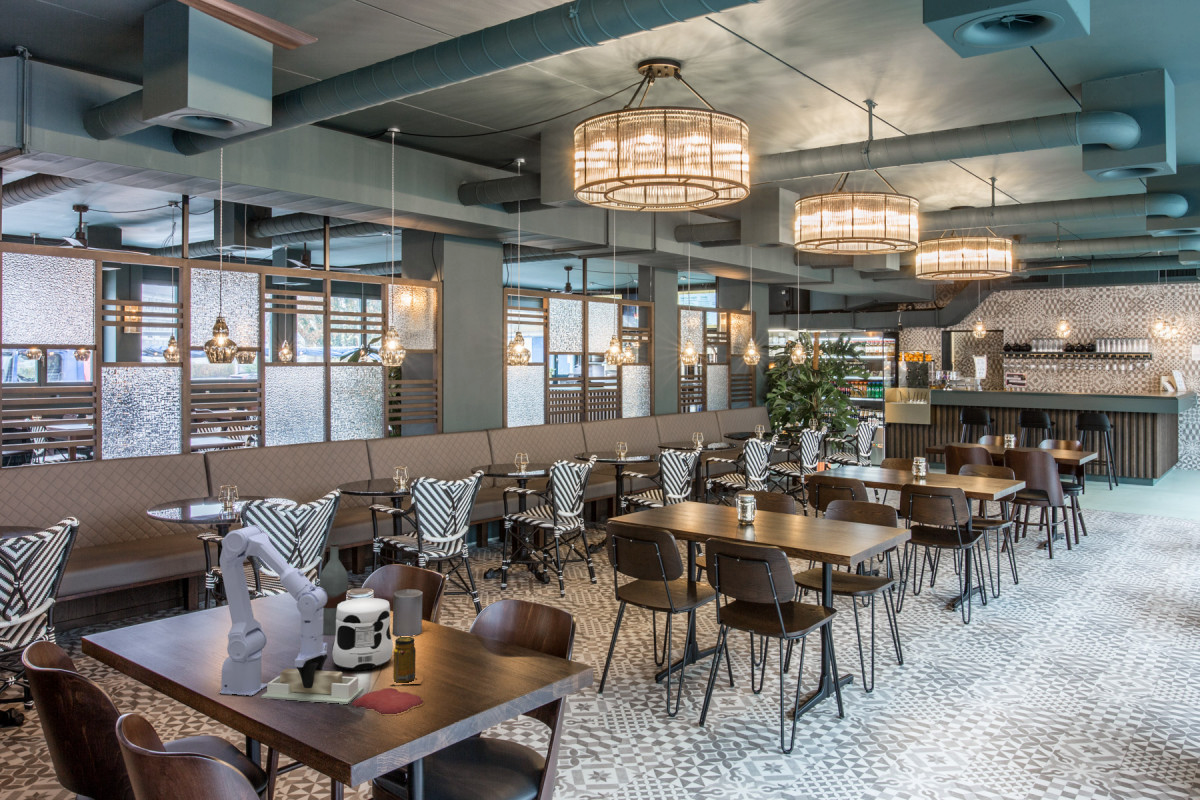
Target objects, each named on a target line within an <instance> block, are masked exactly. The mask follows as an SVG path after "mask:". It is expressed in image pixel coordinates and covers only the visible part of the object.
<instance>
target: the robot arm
mask: <svg viewBox="0 0 1200 800" xmlns="http://www.w3.org/2000/svg"><path fill="white" fill-rule="evenodd" d="M220 542H221V546H222V548H221V553H220V557H219V566H220V571H221V574H222V575H221V576H222V580H223V585H224V590H225V595H226V601H227V604H228V610H229V614H230V618H231V624H232V625H231V627H230V630H229V632H228V634H227V638H228V641H227V642H228V644H227V648H226V651H227V653H228V654H227V655H228V657H227V658H225V660H224V661H223V664H222V667H221V688H220V689H221V690H220V691H219V694H220V693H221V695H232V694H237V695H236V696H246V695H249V697H251V696H252V695H253V696H255V695H256V694H257V693H259V692H260V691H262V690H263V689H264V688H267V683H263V682H262V654H263V649H264V648H265V647H266V645H267V642H268V637H267V635H266V633H265V632H264V630H263V628H262V625H261V622H260V621H258V620H257V619H256V618H255V617H254V613H253V612H254V611H253V607H252V603H251V601H252V600H251V598H250V592H249V588H248V583H247V579H246V574H245V568H244V562H245V560H246V559H247V558H248V557H249V556H253V557H259V558H260V559H262V561H263V562H265V564H266V565H268V567H270V568H271V569H272V570H273V571H274V572H275V573H276V574H277V575H278V576H279V580H280V581H279V583H280V585H282V587H283V588H284V589H285V590H286V591H287V593H289V594H290V596H291V597H292V598H293V599H294V600H295V601H296V608H297V609H298V611H299V613H300V647H299V648H300V651H299V653H298V655H297V657H296V658H295V659H294V667H295V669H298V671H299V673H300V675H301V679H302V683H303V686H304V688H312V686H313V681H314V674H315V670H318V671H323V667H324V664H325V662H326V661H327V659H328V642H324V634H323V608H322V607H323V606H324V605H325V604H326V603H327V594H326V592H325V591H324V589H323V588H321V587H320V586H316V584H314V583H312V582H311V581H310V580H309V579H308V577H307V576H306V575H305V572H304V570H302V569H300V568H298V567H291V565H289V563H288V562H287V561H286V560H285V558H284V557H283V556H282V555H281V553H280V552H279V551H278V550H277V549H276V548H275V546H274V545H273V544H272V542H271V540H270V538H269V536H268V534H267V533H266V532H264V531H263V528H261V527H260V526H258V525H256V524H250V525H248V526H246V527H243V528H239V529H234V530H230V531H229V532H227V534H225V536H224V537H223V538H222V540H221V541H220ZM261 689H262V690H261Z"/></svg>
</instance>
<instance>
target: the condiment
mask: <svg viewBox="0 0 1200 800" xmlns="http://www.w3.org/2000/svg"><path fill="white" fill-rule="evenodd" d="M394 643H395V644H394V647H395V648H394V649H393V667H392V668H393V673H392V674H393V678H392V680H393V679H394V682H396V683H409V682H412V681H414V679H415V676H416V655H417V654H416V653H417V652H416V650H417V649H416V647H415V645H416V644H415V638H414V637H413V636H412V637H397V638H395V642H394Z"/></svg>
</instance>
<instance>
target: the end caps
mask: <svg viewBox="0 0 1200 800" xmlns="http://www.w3.org/2000/svg"><path fill="white" fill-rule="evenodd" d="M266 684H267V686H266V692H267V693H274V694H290V684H282V683H280V675H278V676H276V677H275V678H273V679H272V680H271V681H269V682H267V683H266ZM358 687H359V677H356V676H355V677H354V676H342V684H340V683H332V690H331V697H334V698H348V699H349V698H350V697H351V696H352V695H353V694H355V693H356V692H357V691H358Z"/></svg>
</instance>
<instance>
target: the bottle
mask: <svg viewBox="0 0 1200 800" xmlns="http://www.w3.org/2000/svg"><path fill="white" fill-rule="evenodd" d="M329 551H330V553H329V560H328V562H327V563H326V564H325V566H324V568H323V569H322V571H321V573H320V575H319V586H318V587H321V588H323V589H324V591H325V592H326V594H327V603H326V604H325V605H324V606H323V607H322V608H323V635H324V634H325V636H336V612H337V606H338V604H339V603H341V602H344V601H347V598H346V594H348V587H349V577H348V572H347V569H346V568H345V567H344V565H343V564H342V562H341V560H340V559H339V543H338V542H330V550H329Z"/></svg>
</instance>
